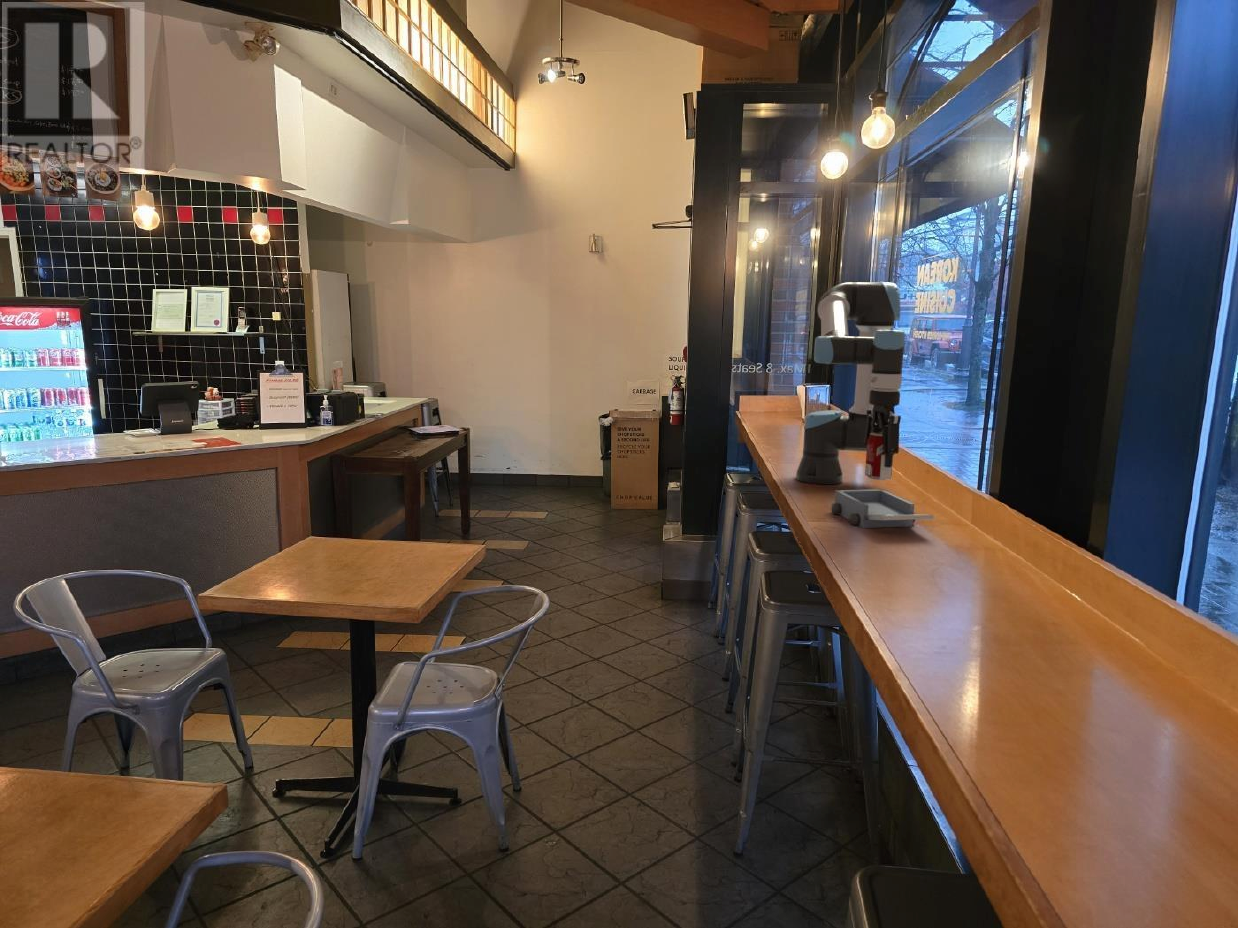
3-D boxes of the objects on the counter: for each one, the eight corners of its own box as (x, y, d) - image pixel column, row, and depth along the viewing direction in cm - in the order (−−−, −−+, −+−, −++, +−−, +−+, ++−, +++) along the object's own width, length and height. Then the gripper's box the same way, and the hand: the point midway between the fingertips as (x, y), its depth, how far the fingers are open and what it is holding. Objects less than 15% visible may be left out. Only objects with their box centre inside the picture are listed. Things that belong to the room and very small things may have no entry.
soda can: (866, 479, 195) (869, 434, 193) (863, 474, 202) (866, 431, 199) (893, 481, 194) (897, 435, 191) (889, 475, 200) (892, 432, 198)
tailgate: (864, 515, 191) (883, 515, 182) (913, 513, 193) (934, 514, 184) (864, 519, 191) (883, 520, 182) (913, 518, 193) (934, 519, 184)
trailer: (828, 511, 208) (830, 490, 207) (885, 509, 211) (887, 489, 210) (856, 528, 192) (858, 505, 191) (918, 525, 195) (920, 503, 193)
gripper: (854, 386, 202) (848, 469, 207) (890, 393, 183) (883, 484, 187) (880, 386, 203) (873, 468, 208) (919, 393, 184) (910, 483, 189)
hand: (878, 475), depth 198 cm, fingers closed on soda can, 7 cm apart
